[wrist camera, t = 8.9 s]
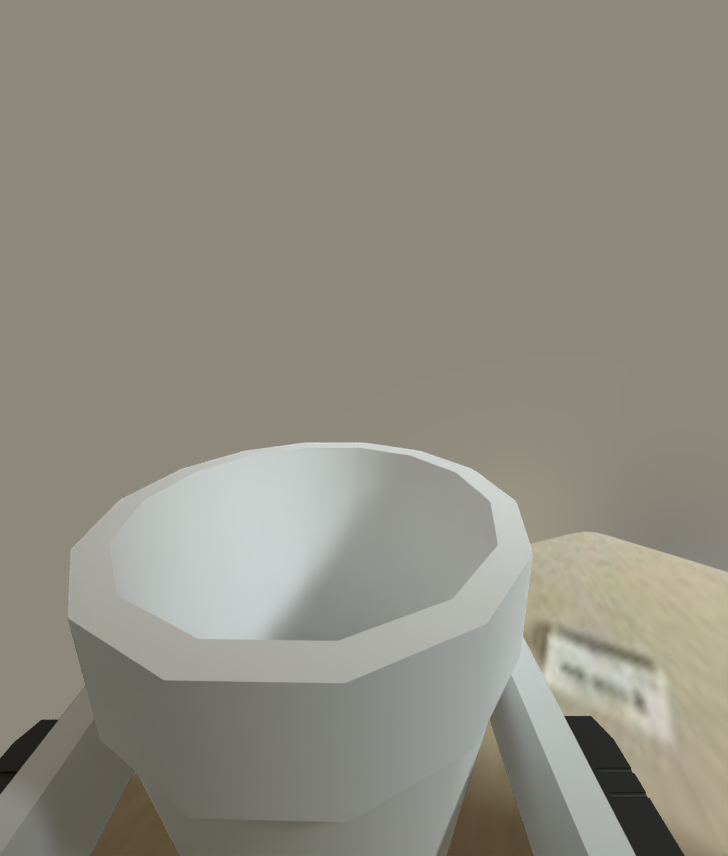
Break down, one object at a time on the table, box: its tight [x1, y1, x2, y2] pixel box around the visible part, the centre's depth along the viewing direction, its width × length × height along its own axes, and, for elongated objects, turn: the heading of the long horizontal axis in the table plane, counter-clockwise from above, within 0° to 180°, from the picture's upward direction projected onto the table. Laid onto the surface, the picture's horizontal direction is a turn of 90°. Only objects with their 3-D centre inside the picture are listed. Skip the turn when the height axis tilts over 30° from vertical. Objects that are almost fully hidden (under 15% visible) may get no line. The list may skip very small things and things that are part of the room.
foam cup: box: [68, 443, 533, 856], centre depth 10 cm, size 10×9×13 cm
